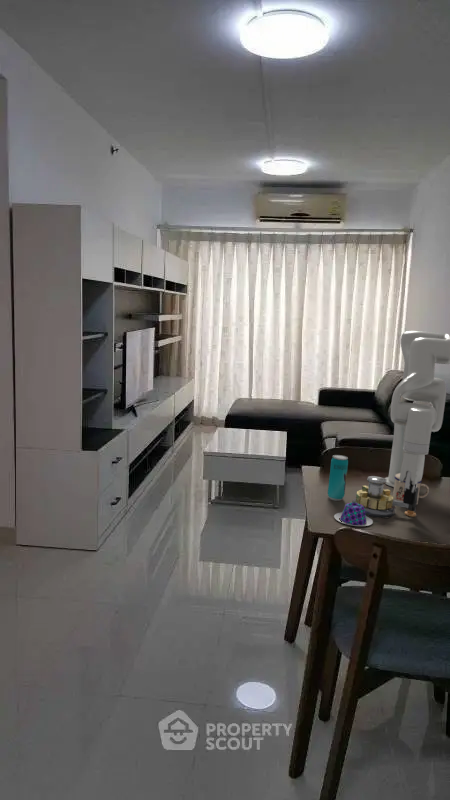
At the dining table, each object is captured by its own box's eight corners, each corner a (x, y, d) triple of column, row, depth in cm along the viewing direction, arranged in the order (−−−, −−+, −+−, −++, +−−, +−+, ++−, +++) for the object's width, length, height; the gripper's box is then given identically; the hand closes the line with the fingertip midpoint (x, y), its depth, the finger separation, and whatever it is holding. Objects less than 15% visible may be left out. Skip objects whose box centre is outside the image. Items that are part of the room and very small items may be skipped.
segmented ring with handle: (353, 505, 199) (356, 482, 198) (358, 495, 210) (360, 473, 209) (414, 516, 193) (418, 493, 192) (416, 505, 204) (419, 483, 203)
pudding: (343, 511, 200) (345, 496, 199) (378, 521, 193) (380, 505, 193) (327, 520, 191) (329, 504, 190) (363, 531, 184) (365, 515, 183)
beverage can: (343, 502, 209) (348, 459, 206) (326, 500, 210) (331, 457, 207) (343, 497, 214) (348, 455, 212) (327, 495, 215) (332, 453, 213)
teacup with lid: (392, 504, 211) (396, 471, 209) (390, 496, 220) (395, 465, 218) (428, 509, 209) (433, 476, 207) (425, 501, 218) (430, 469, 216)
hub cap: (369, 500, 213) (373, 470, 211) (403, 513, 202) (407, 482, 200) (342, 506, 204) (346, 475, 202) (377, 520, 193) (381, 487, 192)
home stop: (408, 512, 204) (411, 489, 203) (418, 515, 201) (421, 492, 200) (402, 513, 202) (405, 490, 200) (411, 517, 199) (414, 493, 198)
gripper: (410, 441, 199) (403, 495, 202) (397, 449, 187) (389, 506, 190) (434, 445, 195) (426, 500, 199) (422, 454, 183) (414, 512, 186)
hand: (408, 503), depth 194 cm, fingers closed
